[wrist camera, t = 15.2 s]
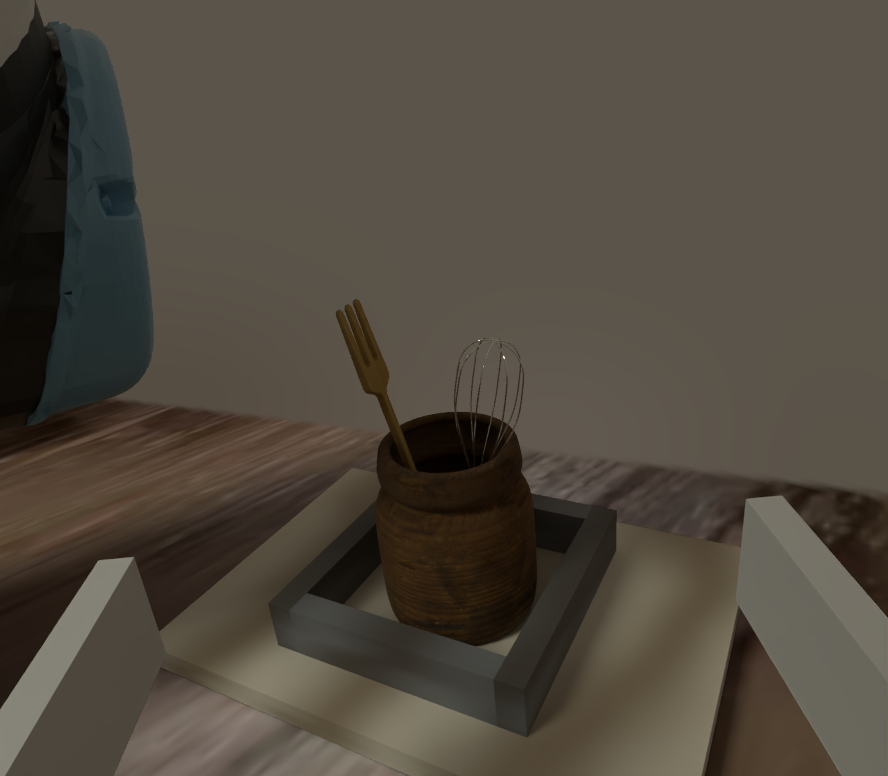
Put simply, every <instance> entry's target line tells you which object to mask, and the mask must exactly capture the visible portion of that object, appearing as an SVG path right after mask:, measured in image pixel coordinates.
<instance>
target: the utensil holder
mask: <svg viewBox="0 0 888 776" xmlns="http://www.w3.org/2000/svg"><path fill="white" fill-rule="evenodd" d="M353 306H354V308H355V310H356V314H357V316H358V320H359V322H360V325H361V328H362V331H363V333H364V335H363V333H362V331H361V328H360V326H359V324H358V321H357V319H356V316H355V314H354V312H353V309H352V307H351V306H350V305H349V304H348V305H346V306H345V312H346V315H347V318H348V320H349V323H350V326H351V329H352V331H353V334H354V337H355V340H356V342H357V344H356V342H355V340H354V337H353V335H352V332H351V330H350V328H349V325H348V323H347V321H346V319H345V316H344V314H343V312H342V311H341V310H338V311H337V312H336V317H337V319H338V322H339V325H340V328H341V330H342V333H343V336H344V339H345V341H346V344H347V347H348V350H349V352H350V355H351V357H352V360H353V363H354V366H355V369H356V371H357V374H358V377H359V379H360V382H361V385H362V387H363V389H364V391H365V392H366V393H368V394H372V395H375V396H376V397H377V398H378V401H379V403H380V406H381V408H382V411H383V414H384V416H385V419H386V421H387V424H388V426H389V429H390V431H391V432H389V433H388V434H387V435H386V436H385V437H384V438H383V440H382V441H381V443H380V445H379V448H378V456H377V476H378V480H379V483H380V485H381V488H380V491H379V493H378V497H377V501H376V527H377V536H378V543H379V549H380V556H381V562H382V568H383V574H384V580H385V585H386V590H387V595H388V599H389V602H390V605H391V608H392V610H393V612H394V614H395V616H396V618H397V619H398V620H399V622H400V623H403V624H406V625H409V626H412V627H415V628H419V629H422V630H425V631H428V632H431V633H434V634H437V635H440V636H444V637H447V638H450V639H453V640H456V641H459V642H462V643H466V644H469V645H475V644H480V643H484V642H487V641H490V640H493V639H496V638H498V637H500V636H502V635H504V634H506V633H507V632H509V631H510V630H512V629H513V628H515V627H516V626H517V625H518V624H519V623H520V622H521V621H522V620H523V619H524V618H525V616H526V615H527V614H528V612H529V610H530V609H531V606H532V604H533V601H534V598H535V593H536V586H537V556H536V536H535V519H534V508H533V501H532V495H531V492H530V488H529V485H528V483H527V481H526V479H525V477H524V476H523V474H522V473H521V469H522V454H521V450H520V446H519V442H518V439H517V436H516V434H515V432H514V429H515V426H516V424H517V421H518V418H519V414H520V410H521V404H522V396H523V386H524V370H523V366H522V363H521V359H520V355H519V353H518V351H517V349H516V348H515V346H514V345H512V344H511V343H509V342H507V341H503V340H500V338H496V339H495V340H494V339H492V338H490V337H485V338H484V339H482V340H477V341H475V342H473V343H471V344H470V345H472V344H474V343H476V342H479V341H481V342H480V343H479V345H478V346H477V347H476V348H475V349H474V350H476V349H477V351H476V355H475V362H474V368H473V376H472V385H471V401H470V402H471V403H470V406H471V412H456V405H457V396H458V388H459V381H460V375H461V371H462V368H463V366H464V364H465V362H466V360H467V359H468V357H469V356H470V355H471V353H472V352H473V351H474V350H472V351H471V353H470V354H469V355H468V356H467V358H466V359H465V361H464V363H463V365H462V367H461V370H460V374H459V379H458V386H457V393H456V383H457V376H458V369H459V364H460V359H461V357H462V355H463V353H464V352H465V350H466V349H467V348H468V347H469V346H470V345H468V346H467V347H466V348H465V350H464V351H463V352H462V354H461V356H460V358H459V362H458V367H457V374H456V381H455V389H454V410H455V412H446V413H438V414H432V415H427V416H423V417H419V418H416V419H413V420H411V421H408V422H406V423H404V424H402V425H400V426H399V423H398V421H397V418H396V415H395V413H394V410H393V408H392V405H391V403H390V400H389V397H388V395H387V389H386V388H387V384H388V379H389V372H388V369H387V367H386V364H385V361H384V359H383V357H382V354H381V352H380V350H379V347H378V345H377V342H376V340H375V337H374V335H373V332H372V330H371V328H370V326H369V323H368V320H367V318H366V316H365V313H364V311H363V308H362V306H361V303H360V301H359V300H358V299H355V300H354V301H353ZM364 336H365V338H364ZM487 338H488V339H487ZM365 339H366V340H365ZM490 339H491V340H490ZM497 339H499V340H497ZM482 341H488V342H485V343H483V344H481V343H482ZM499 341H500V342H499ZM366 342H367V343H366ZM490 342H493V343H494V342H495V343H496V344H497V345H498V347H499V348H500V350H501V353H500V364H499V372H498V380H497V387H496V394H495V400H494V406H493V411H492V416H488V415H484V414H478V413H477V408H478V400H479V392H480V385H481V379H482V374H483V370H484V366H485V362H486V359H487V356H488V353H489V351H490V349H491V347H492V345H493V343H492V344H491V346H490V348H489V350H488V352H487V355H486V358H485V361H484V364H483V368H482V372H481V377H480V383H479V389H478V397H477V405H476V413H472V388H473V378H474V370H475V363H476V356H477V352H478V349H479V347H480V346H481V345H484V344H486V343H490ZM502 342H506V343H508V344H510V345H512V346H513V347H514V348H515V350H516V351H517V354H518V355H517V354H516V353H515V351H514V350H513V349H512V348H510V347H509V346H507V345H506V344H504V343H502ZM498 343H500V346H501V347H500V346H499V344H498ZM480 344H481V345H480ZM502 344H503V345H505V346H506V347H508V348H509V349H511V350H512V351H513V352H514V354H515V355H516V356H517V358H518V360H519V362H520V371H519V380H518V388H517V395H516V400H515V405H514V408H513V412H512V414H511V417H510V420H509V422H510V421H511V418H512V415H513V413H514V409H515V406H516V401H517V396H518V391H519V383H520V373H521V367H522V372H523V383H522V393H521V401H520V408H519V413H518V417H517V420H516V423H515V426H514V428H513V429H512V428H511V427H510V426H509V422H508V424H506V423H505V422H503V418H504V412H505V404H506V396H507V386H508V372H507V365H506V360H505V356H504V354H503V351H502ZM357 345H358V347H357ZM358 348H359V349H358ZM360 353H361V354H360ZM502 355H503V358H504V362H505V367H506V393H505V401H504V409H503V417H502V421H501V420H499V419H497V418H494V417H493V412H494V407H495V402H496V395H497V389H498V382H499V374H500V366H501V357H502ZM518 356H519V357H518ZM455 393H456V401H455Z"/></svg>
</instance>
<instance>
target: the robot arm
mask: <svg viewBox="0 0 888 776" xmlns="http://www.w3.org/2000/svg"><path fill="white" fill-rule="evenodd" d="M135 196H136V186H135V181H134V176H133V167H132V154H131V148H130V143H129V137H128V132H127V127H126V122H125V117H124V112H123V107H122V102H121V98H120V94H119V89H118V85H117V80H116V77H115V73H114V69H113V66H112V63H111V60H110V57H109V55H108V51H107V49H106V47H105V45H104V44H103V42H102V41H101V40H100V39H99V38H98V37H97V36H96V35H95V34H93V33H91V32H90V31H86V30H82V29H72V28H71V27H70V26H68V25H67V24H65V23H63V24H59V21H58V22H50V23H48V25H47V26H45V27H44V25H43V22H42V19H41V16H40V13H39V10H38V7H37V4H36V0H0V430H2V429H7V428H11V427H16V426H21V425H26V426H31V425H36V424H39V423H41V422H43V421H44V420H46V419H47V418H48V417H49V416H50V415H52V414H56V413H59V412H63V411H66V410H70V409H73V408H76V407H80V406H83V405H87V404H90V403H94V402H97V401H101V400H104V399H108V398H111V397H114V396H117V395H119V394H121V393H123V392H125V391H127V390H128V389H130V388H132V387H133V386H134V385H135V384H136V383H137V382H138V381H139V380H140V379H141V378H142V376H143V375H144V374H145V372H146V370H147V368H148V366H149V364H150V361H151V357H152V352H153V342H154V331H153V330H154V329H153V312H152V311H153V310H152V298H151V288H150V278H149V269H148V261H147V253H146V246H145V239H144V232H143V226H142V220H141V215H140V212H139V208H138V206H137V204H136V202H135ZM736 602H737V604H738V605H739V607H740V609H741V610H742V612H743V614H744V615H745V617H746V618H747V620H748V622H749V623H750V625H751V627H752V628H753V630H754V632H755V633H756V635H757V637H758V638H759V640H760V642H761V643H762V645H763V647H764V648H765V650H766V652H767V653H768V655H769V657H770V658H771V660H772V662H773V663H774V665H775V666H776V668H777V670H778V671H779V673H780V675H781V676H782V678H783V680H784V681H785V683H786V685H787V686H788V688H789V690H790V691H791V693H792V695H793V696H794V698H795V700H796V701H797V703H798V705H799V706H800V708H801V710H802V711H803V713H804V714H805V716H806V718H807V719H808V721H809V723H810V724H811V726H812V728H813V729H814V731H815V733H816V734H817V736H818V738H819V739H820V741H821V743H822V744H823V746H824V748H825V749H826V751H827V753H828V754H829V756H830V758H831V759H832V761H833V762H834V764H835V766H836V767H837V769H838V771H839V772H840V774H841V776H888V618H887V616H886V615H885V614H884V613H883V612H882V611H881V609H880V608H879V607H878V606H877V605H876V604H875V603H874V601H873V600H872V599H871V598H870V597H869V596H868V594H867V593H866V592H865V591H864V590H863V589H862V587H861V586H860V585H859V584H858V583H857V582H856V581H855V579H854V578H853V577H852V576H851V575H850V574H849V572H848V571H847V570H846V569H845V568H844V567H843V566H842V564H841V563H840V562H839V561H838V560H837V559H836V557H835V556H834V555H833V554H832V553H831V552H830V551H829V549H828V548H827V547H826V546H825V545H824V544H823V542H822V541H821V540H820V539H819V538H818V537H817V535H816V534H815V533H814V532H813V531H812V530H811V529H810V527H809V526H808V525H807V524H806V523H805V522H804V520H803V519H802V518H801V517H800V516H799V515H798V514H797V512H796V511H795V510H794V509H793V508H792V507H791V505H790V504H789V503H788V502H787V501H786V500H785V498H784V497H783V496H782V495H781V496H771V497H760V498H750V499H746V503H745V513H744V523H743V533H742V543H741V552H740V562H739V572H738V582H737V592H736ZM165 656H166V651H165V648H164V645H163V642H162V639H161V636H160V633H159V630H158V627H157V624H156V621H155V618H154V615H153V612H152V609H151V606H150V603H149V600H148V597H147V594H146V591H145V588H144V585H143V582H142V579H141V576H140V573H139V570H138V567H137V564H136V561H135V558H134V557H128V558H118V559H107V560H98V562H97V563H96V565H95V567H94V568H93V570H92V571H91V573H90V574H89V576H88V577H87V579H86V580H85V582H84V583H83V585H82V586H81V588H80V589H79V591H78V592H77V594H76V595H75V597H74V598H73V600H72V601H71V603H70V604H69V606H68V607H67V609H66V611H65V612H64V614H63V615H62V617H61V618H60V620H59V621H58V623H57V624H56V626H55V627H54V629H53V630H52V632H51V633H50V635H49V636H48V638H47V639H46V641H45V642H44V644H43V645H42V647H41V648H40V650H39V652H38V653H37V655H36V656H35V658H34V659H33V661H32V662H31V664H30V665H29V667H28V668H27V670H26V671H25V673H24V674H23V676H22V677H21V679H20V680H19V682H18V683H17V685H16V686H15V688H14V689H13V691H12V692H11V694H10V696H9V697H8V699H7V700H6V702H5V703H4V705H3V706H2V708H1V709H0V776H114V773H115V771H116V769H117V767H118V764H119V762H120V760H121V757H122V755H123V753H124V750H125V748H126V746H127V744H128V741H129V739H130V737H131V734H132V732H133V730H134V727H135V725H136V723H137V721H138V718H139V716H140V714H141V711H142V709H143V707H144V704H145V702H146V700H147V698H148V695H149V693H150V691H151V688H152V686H153V684H154V681H155V679H156V677H157V675H158V672H159V670H160V668H161V665H162V663H163V661H164V659H165Z"/></svg>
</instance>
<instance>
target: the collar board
mask: <svg viewBox="0 0 888 776" xmlns="http://www.w3.org/2000/svg"><path fill="white" fill-rule="evenodd" d="M380 488H381V485H380V483H379V480H378V476H377V473H376V472H371V471H366V470H361V469H356V468H352V469H351V470H349V471H348V472H347V473H346V474H345V475H343V476H342V477H341V478H340V479H339V480H338V481H336V482H335V483H334V484H333V485H332V486H330V487H329V488H328V489H327V490H326V491H325V492H323V493H322V494H321V495H320V496H319V497H317V498H316V499H315V500H314V501H313V502H312V503H310V504H309V505H308V506H307V507H306V508H304V509H303V510H302V511H301V512H300V513H299V514H297V515H296V516H295V517H294V518H293V519H291V520H290V521H289V522H288V523H287V524H286V525H284V526H283V527H282V528H281V529H280V530H278V531H277V532H276V533H275V534H274V535H273V536H271V537H270V538H269V539H268V540H267V541H266V542H264V543H263V544H262V545H261V546H260V547H258V548H257V549H256V550H255V551H254V552H253V553H251V554H250V555H249V556H248V557H247V558H245V559H244V560H243V561H242V562H241V563H240V564H238V565H237V566H236V567H235V568H234V569H232V570H231V571H230V572H229V573H228V574H227V575H225V576H224V577H223V578H222V579H221V580H219V581H218V582H217V583H216V584H215V585H214V586H212V587H211V588H210V589H209V590H208V591H206V592H205V593H204V594H203V595H202V596H201V597H199V598H198V599H197V600H196V601H195V602H193V603H192V604H191V605H190V606H189V607H188V608H186V609H185V610H184V611H183V612H182V613H180V614H179V615H178V616H177V617H176V618H175V619H173V620H172V621H171V622H170V623H169V624H167V625H166V626H165V627H164V628H163V629H162V630H160V631H159V633H160V636H161V639H162V642H163V645H164V648H165V651H166V656H165V659H164V661H163V663H162V665H161V668H163V669H165V670H168V671H170V672H172V673H175V674H177V675H179V676H182V677H184V678H186V679H189V680H191V681H193V682H195V683H198V684H200V685H202V686H205V687H207V688H209V689H212V690H214V691H216V692H218V693H221V694H223V695H225V696H228V697H230V698H232V699H235V700H237V701H239V702H241V703H244V704H246V705H248V706H251V707H253V708H255V709H258V710H260V711H262V712H264V713H267V714H269V715H271V716H274V717H276V718H278V719H281V720H283V721H285V722H287V723H290V724H292V725H294V726H297V727H299V728H301V729H304V730H306V731H308V732H310V733H313V734H315V735H317V736H320V737H322V738H324V739H327V740H329V741H331V742H333V743H336V744H338V745H340V746H343V747H345V748H347V749H350V750H352V751H354V752H356V753H359V754H361V755H363V756H366V757H368V758H370V759H373V760H375V761H377V762H379V763H382V764H384V765H386V766H389V767H391V768H393V769H396V770H398V771H400V772H403V773H405V774H407V775H409V776H705V772H706V768H707V763H708V758H709V753H710V749H711V744H712V739H713V735H714V730H715V725H716V720H717V716H718V711H719V706H720V702H721V697H722V692H723V687H724V683H725V678H726V673H727V669H728V664H729V659H730V654H731V650H732V645H733V640H734V636H735V631H736V626H737V621H738V617H739V612H740V607H739V605H738V604H737V602H736V592H737V582H738V572H739V562H740V552H741V547H737V546H732V545H727V544H722V543H717V542H712V541H708V540H703V539H698V538H693V537H688V536H683V535H678V534H673V533H669V532H664V531H659V530H654V529H649V528H644V527H639V526H634V525H629V524H625V523H620V522H617V510H612V509H607V508H602V507H597V506H591V505H586V504H581V503H576V502H571V501H566V500H561V499H556V498H551V497H546V496H541V495H536V494H531V495H532V501H533V508H534V519H535V536H536V556H537V586H536V593H535V598H534V601H533V604H532V606H531V609H530V610H529V612H528V614H527V615H526V616H525V618H524V619H523V620H522V621H521V622H520V623H519V624H518V625H517V626H516V627H515V628H513V629H512V630H510V631H509V632H507V633H506V634H504V635H502V636H500V637H498V638H496V639H493V640H490V641H487V642H484V643H480V644H475V645H469V644H466V643H462V642H459V641H456V640H453V639H450V638H447V637H444V636H440V635H437V634H434V633H431V632H428V631H425V630H422V629H419V628H415V627H412V626H409V625H406V624H403V623H400V622H399V620H398V619H397V618H396V616H395V614H394V612H393V610H392V608H391V605H390V602H389V599H388V595H387V590H386V585H385V580H384V574H383V568H382V562H381V556H380V549H379V543H378V536H377V527H376V501H377V497H378V493H379V491H380Z"/></svg>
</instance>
